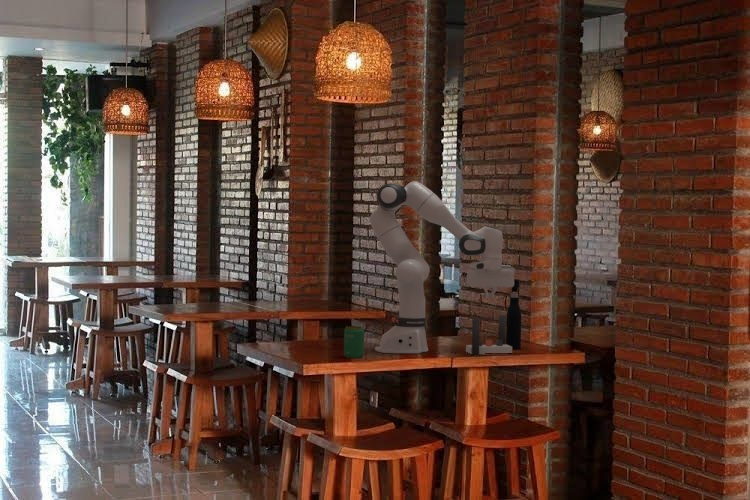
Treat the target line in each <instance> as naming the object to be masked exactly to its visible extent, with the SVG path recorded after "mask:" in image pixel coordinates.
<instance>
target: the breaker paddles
mask: <svg viewBox="0 0 750 500" xmlns="http://www.w3.org/2000/svg"><path fill="white" fill-rule="evenodd" d="M495 341H496V342H495V345H496V346H503V340H498V339H496V340H495ZM482 345H483V340H482V339H479V346H482ZM485 345H486V346H492V345H493V339H486V340H485Z"/></svg>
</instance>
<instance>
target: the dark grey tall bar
mask: <svg viewBox="0 0 750 500" xmlns="http://www.w3.org/2000/svg"><path fill="white" fill-rule="evenodd" d="M480 321H481V319H480V318H472V327H471V328H472V330H471V332H472V333H471V345H472V355H479V356H480V354H479V340H480V333H481V332H480V331H481V329H480V328H481V327H480V326H481V322H480ZM472 355H471V356H472Z"/></svg>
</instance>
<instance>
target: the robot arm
mask: <svg viewBox="0 0 750 500" xmlns="http://www.w3.org/2000/svg"><path fill="white" fill-rule="evenodd" d="M376 192H377V193H376V198H377V199H376V200H377V203H378V208H377V209H375V210H373V212H371V215H370V216H369V223H370V226H371V228H372V231H373V232H374V235H375V236H376V238H377V240H378V241H379V243H380V245H381V247H382V248H383V249H384V251H385V253H386V255H387V256H388V257H389V258H391V260H392V262H394V264H395V265H396V269H395V278H396V280H397V281H396V283H397V290H398V298H399V303H398V305H399V307H398V308H399V310H398V313H399V314H398V316H397V317H395V316H394V317H392V318H391V322H392V323H394V324H393V325H394V326H392V327H391V328H390V329H389V330H387V331H386V332H385V333H383V334H382V335H381V339H380V343H379V346H375V348H374V350H375V351H376V352H379V353H383V354H421V353H426V352H428V351H429V348H428V343H427V334H426V332H427V331H426V330H427V317H426V302H427V301H426V296H425V290H424V289H425V288H424V283H423V282H425V281H426V280H427V279H428V277H429V276H430V271H431V269H430V266H429V263H428V262H427V261H426V260H425V259H424V258H423V255H421V253H420V252H419V250H417V248H416V247H415V246H414V245H413V243H412V242H411V241H410V239H409V237H408V235H407V234H406V232H405V231H404V229H403V227H401V225H400V223H399V221H398V219H397V217H396V215H397V214H398V212H399V211H400V210H402V209H401V208H402V207H404V206H408V207H410V208H411V209H412V210H413V211H414V212H415V213H416V214H417V215H418V216H420V217H421V218H422V219H424V220H426V221H428V222H429V223H432V224H435V225H438V226H441V227H442V228H444V229H446V231H448V232H449V233H450V234H451V235H453V236H454V237H455V239H457V240H458V249H459V250H460V252H461V253H462V254H463V255H465V256H468V257H473V256H474V257H477V256H478V257H479V256H480V260H477V261H473V262H470V263H469V269H468V271H467V274H466V280H465V281H466V283H465V284H466V285H467V287H474V288H476V287H478V288H479V287H480V288H483V291H484V293H485V298H486V299H494V295H495V293H496V291H497V290H498V289H497V288H512V287H513V286H514V279H515V270H516V269H515V268H514V266H513V265H510V264H509V265H505V264H503V256H502V251H503V247H504V243H503V242H504V240H503V239H504V238H503V232H502V229H500V228H499V227H496V226H492V225H484V226H483V227H481V228H479V229H478V230H475V231H473V230H471V229H469V227H467V226H466V225H465V224H463V223H462V221H460V220H459V219H458V218H457V217H456V216H454V215H453V213H452V212H451V211H450V209H449V208H448V207H447V206H446V204H445V203H444V202H443V201H442V200H441V198H440V197H439V196H438V195H437V194H436V193H434V192H433V191H432V189H429V188H428V187H427V186H426V185H424V184H422V183H421V182H419V181H415V180H413V181H411V182H409V183H407V184H406V185H405V186H403V185H400V184H396V183H385V184H383V185H382V186H380V187H379V189H378V190H377V191H376ZM489 288H491V289H492V291H491V292H490V293H489V291H488V290H489Z"/></svg>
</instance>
